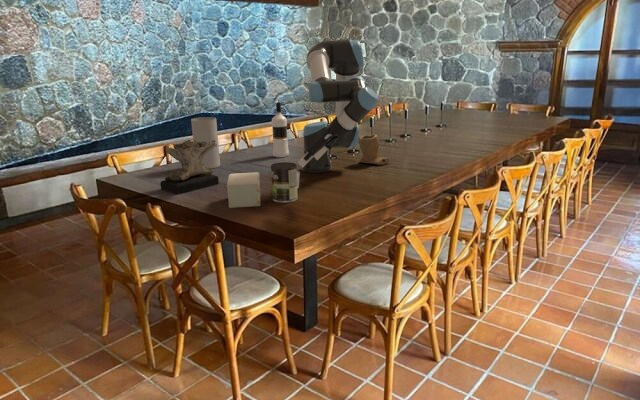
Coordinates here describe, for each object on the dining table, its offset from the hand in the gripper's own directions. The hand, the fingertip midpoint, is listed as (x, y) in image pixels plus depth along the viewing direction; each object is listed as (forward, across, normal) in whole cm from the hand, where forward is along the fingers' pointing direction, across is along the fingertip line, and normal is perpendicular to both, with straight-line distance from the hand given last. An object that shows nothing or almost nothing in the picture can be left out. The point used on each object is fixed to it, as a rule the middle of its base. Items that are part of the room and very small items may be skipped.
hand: (308, 161), depth 194 cm
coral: (+52, +4, +29) cm, 60 cm away
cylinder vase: (+66, +40, +43) cm, 88 cm away
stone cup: (+9, +72, -14) cm, 74 cm away
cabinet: (+29, -8, +6) cm, 31 cm away
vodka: (+48, +76, +25) cm, 93 cm away
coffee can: (+19, 0, -4) cm, 20 cm away
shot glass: (+23, +17, 0) cm, 28 cm away
